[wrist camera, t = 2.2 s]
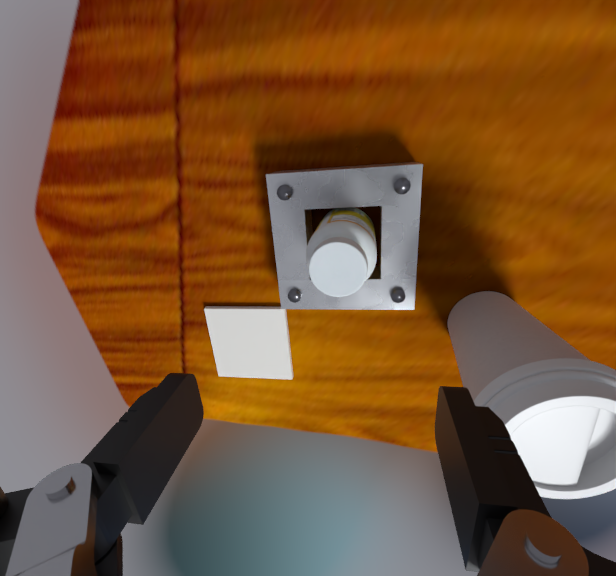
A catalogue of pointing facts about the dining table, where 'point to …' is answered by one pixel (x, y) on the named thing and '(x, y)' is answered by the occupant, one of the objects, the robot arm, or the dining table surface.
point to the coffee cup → (539, 394)
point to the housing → (341, 194)
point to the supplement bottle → (342, 252)
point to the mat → (250, 341)
